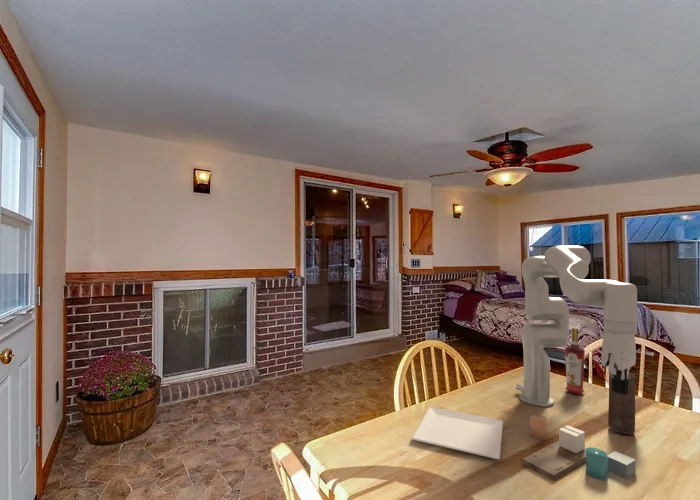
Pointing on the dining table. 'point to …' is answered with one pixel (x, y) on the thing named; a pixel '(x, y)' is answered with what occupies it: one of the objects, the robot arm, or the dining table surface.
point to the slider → (572, 439)
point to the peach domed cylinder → (538, 427)
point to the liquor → (574, 365)
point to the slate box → (621, 465)
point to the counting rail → (554, 461)
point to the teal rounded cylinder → (596, 463)
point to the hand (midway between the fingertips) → (619, 392)
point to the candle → (622, 408)
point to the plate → (461, 432)
